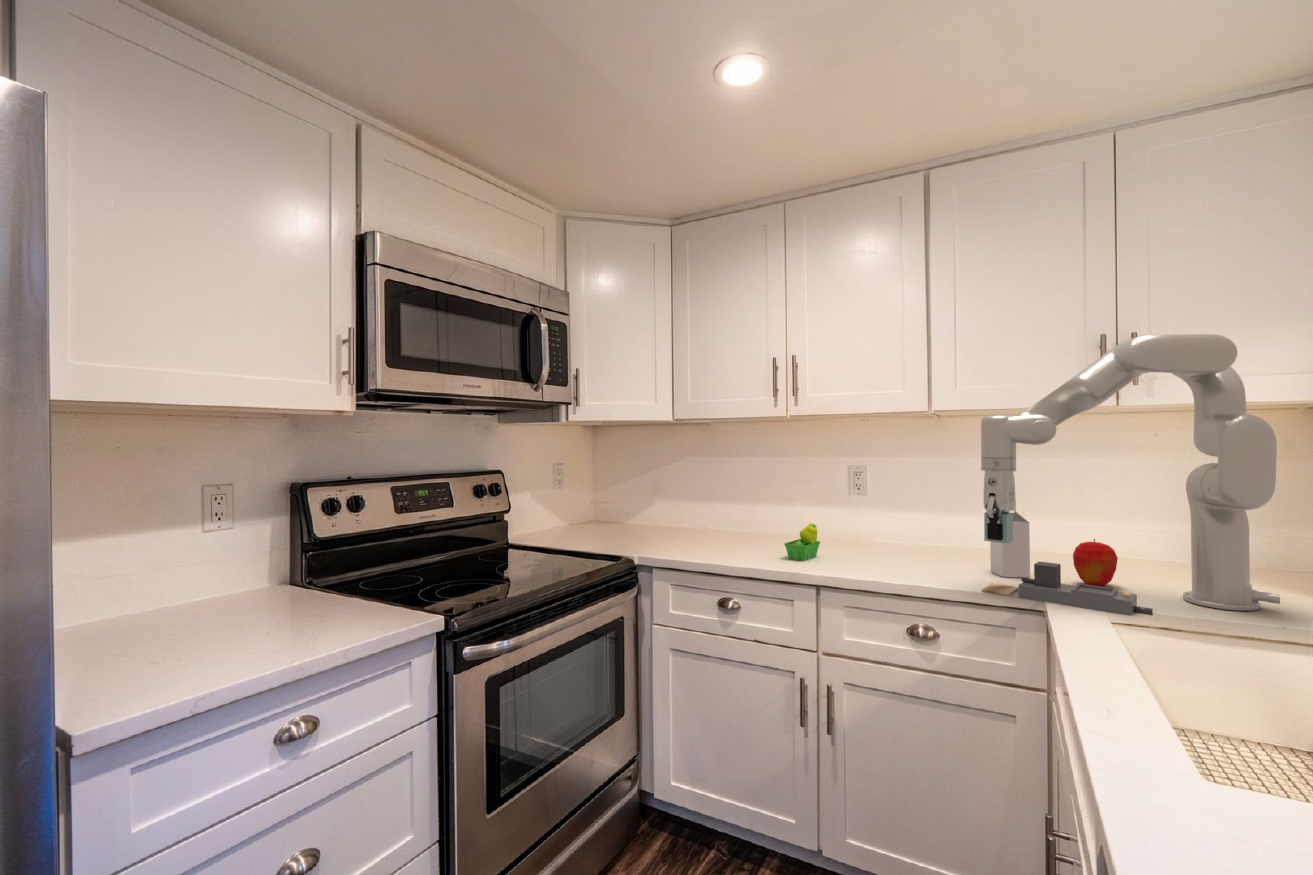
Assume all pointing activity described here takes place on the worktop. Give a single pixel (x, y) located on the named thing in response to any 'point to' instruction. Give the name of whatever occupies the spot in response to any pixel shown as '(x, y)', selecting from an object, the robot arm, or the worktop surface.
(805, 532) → the fruit basket
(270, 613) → the worktop surface
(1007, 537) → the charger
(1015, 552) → the milk carton
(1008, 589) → the cork pad
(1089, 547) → the apple
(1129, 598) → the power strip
